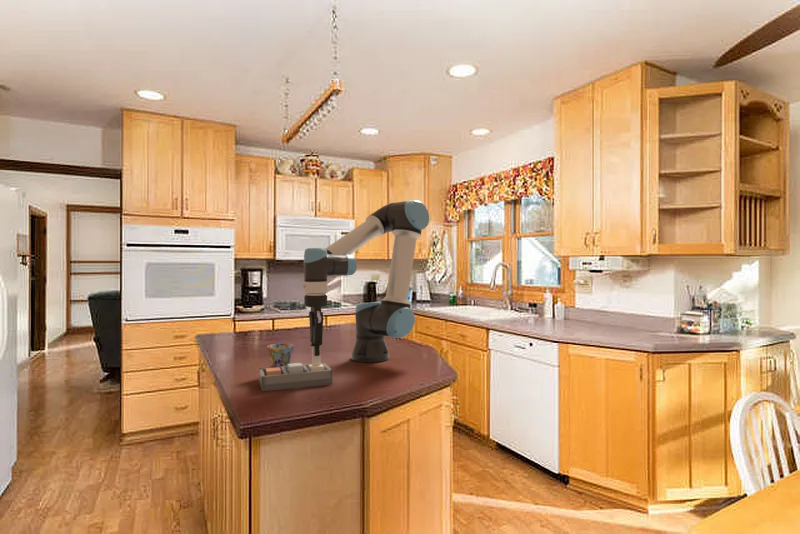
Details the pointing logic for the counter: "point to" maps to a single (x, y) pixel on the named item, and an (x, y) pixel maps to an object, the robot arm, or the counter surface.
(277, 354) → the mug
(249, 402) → the counter surface
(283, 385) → the grey compartment tray
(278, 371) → the key
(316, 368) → the key
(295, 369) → the key middle
